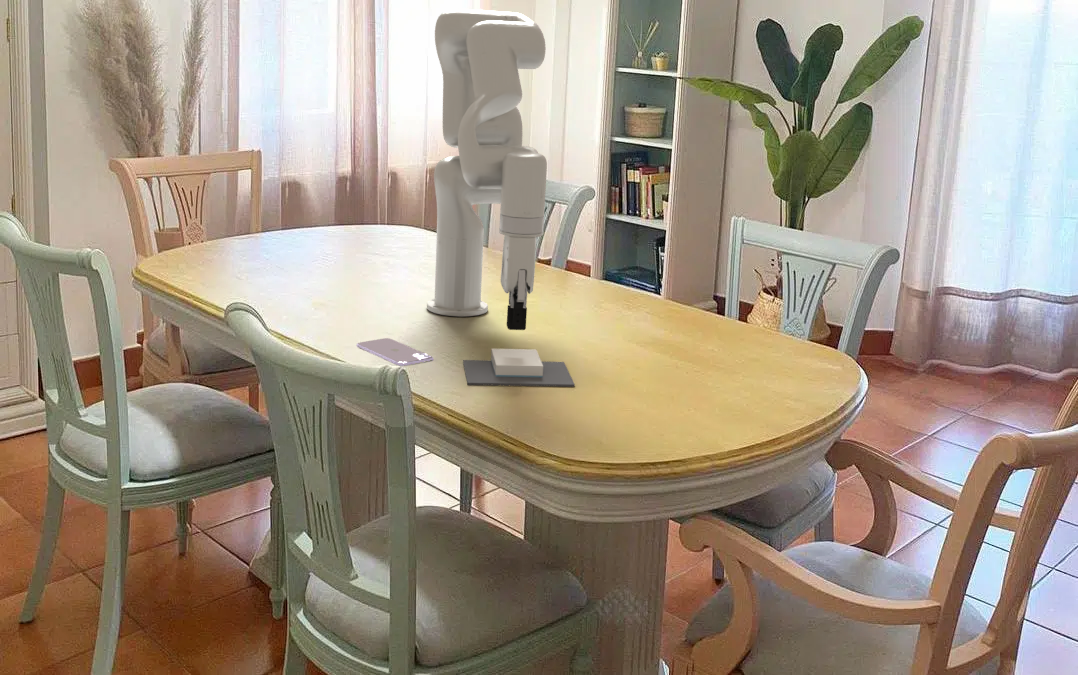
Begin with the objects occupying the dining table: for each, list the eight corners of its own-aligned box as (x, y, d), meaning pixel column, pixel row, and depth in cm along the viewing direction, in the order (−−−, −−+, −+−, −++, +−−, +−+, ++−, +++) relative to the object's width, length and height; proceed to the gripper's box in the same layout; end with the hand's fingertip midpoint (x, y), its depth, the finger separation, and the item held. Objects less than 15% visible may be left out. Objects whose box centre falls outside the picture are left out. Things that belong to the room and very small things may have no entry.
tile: (491, 348, 208) (496, 365, 198) (536, 349, 209) (543, 366, 199) (490, 359, 208) (495, 376, 199) (535, 360, 209) (542, 377, 200)
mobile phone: (388, 336, 218) (436, 356, 207) (388, 341, 218) (436, 361, 208) (353, 342, 213) (400, 363, 202) (353, 347, 214) (400, 368, 203)
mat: (462, 362, 207) (463, 359, 207) (563, 364, 209) (563, 361, 209) (467, 385, 195) (467, 382, 195) (574, 386, 197) (574, 384, 197)
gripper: (496, 216, 207) (491, 317, 212) (503, 232, 193) (498, 340, 198) (538, 218, 208) (532, 318, 213) (548, 234, 194) (542, 340, 199)
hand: (516, 328), depth 206 cm, fingers closed
